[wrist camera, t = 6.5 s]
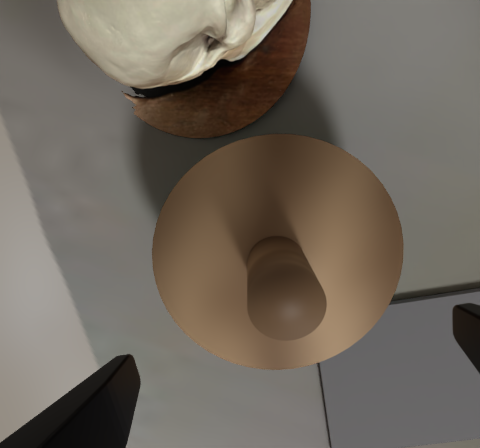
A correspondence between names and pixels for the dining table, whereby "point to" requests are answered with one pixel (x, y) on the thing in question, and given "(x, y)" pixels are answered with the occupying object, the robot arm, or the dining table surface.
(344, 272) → the lid
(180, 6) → the skull
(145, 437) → the dining table surface
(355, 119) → the dining table surface
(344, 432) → the mat
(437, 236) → the dining table surface
